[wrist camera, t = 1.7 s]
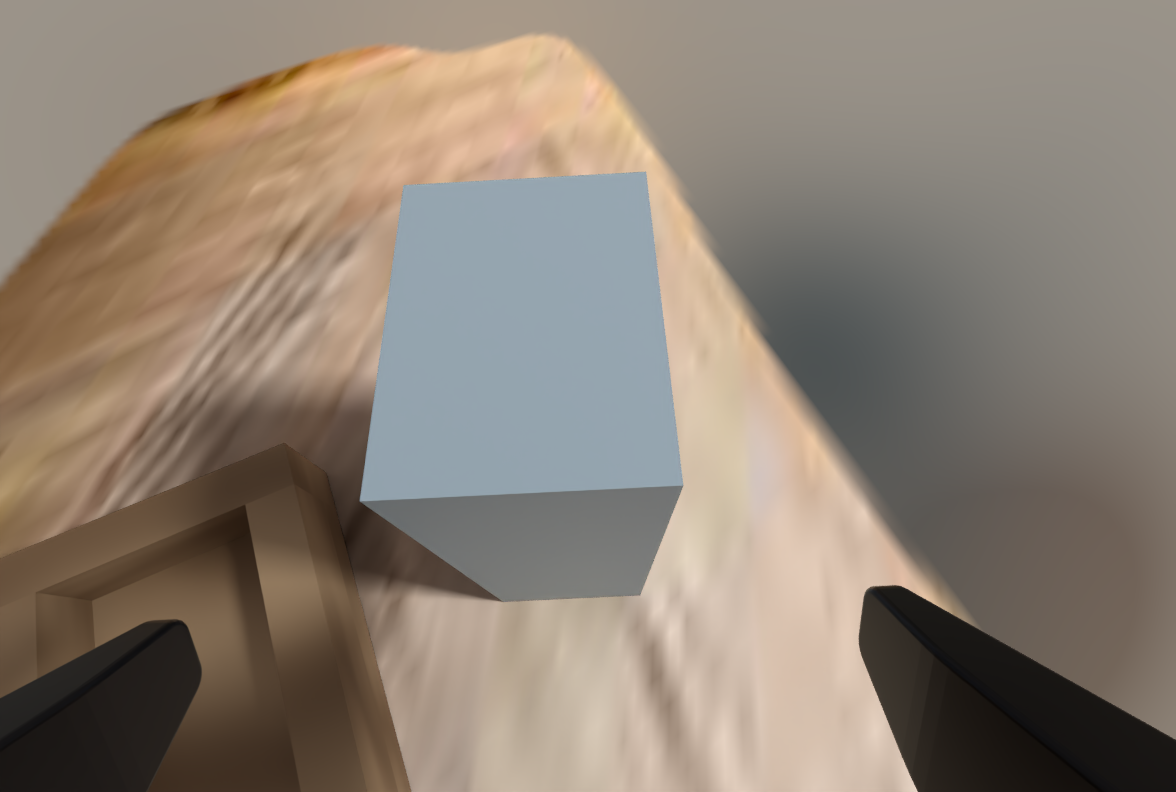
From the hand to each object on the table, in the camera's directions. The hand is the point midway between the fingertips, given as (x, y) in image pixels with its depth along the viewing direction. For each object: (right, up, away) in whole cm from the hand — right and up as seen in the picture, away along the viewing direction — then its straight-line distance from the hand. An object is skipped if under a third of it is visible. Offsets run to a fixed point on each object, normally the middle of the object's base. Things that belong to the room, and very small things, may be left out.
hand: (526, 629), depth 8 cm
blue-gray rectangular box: (0, -1, +12) cm, 13 cm away
